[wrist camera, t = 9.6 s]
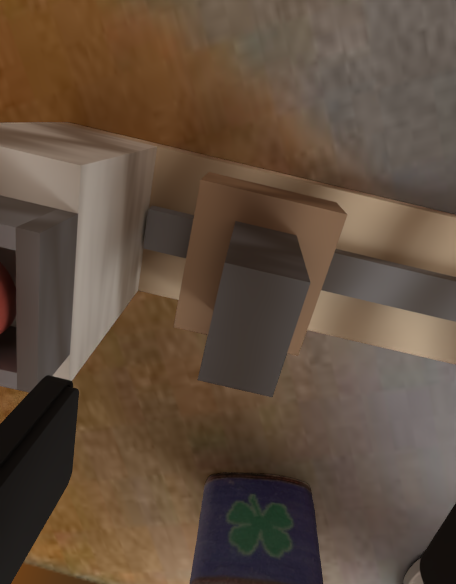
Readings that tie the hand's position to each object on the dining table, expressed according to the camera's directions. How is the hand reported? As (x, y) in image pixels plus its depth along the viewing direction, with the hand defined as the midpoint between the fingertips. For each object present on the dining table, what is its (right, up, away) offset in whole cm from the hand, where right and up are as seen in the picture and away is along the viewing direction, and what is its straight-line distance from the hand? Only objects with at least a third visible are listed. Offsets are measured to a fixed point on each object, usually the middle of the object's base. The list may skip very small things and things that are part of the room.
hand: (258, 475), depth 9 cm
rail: (+3, +7, +16) cm, 18 cm away
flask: (+2, -12, +25) cm, 28 cm away
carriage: (+1, +6, +13) cm, 15 cm away
